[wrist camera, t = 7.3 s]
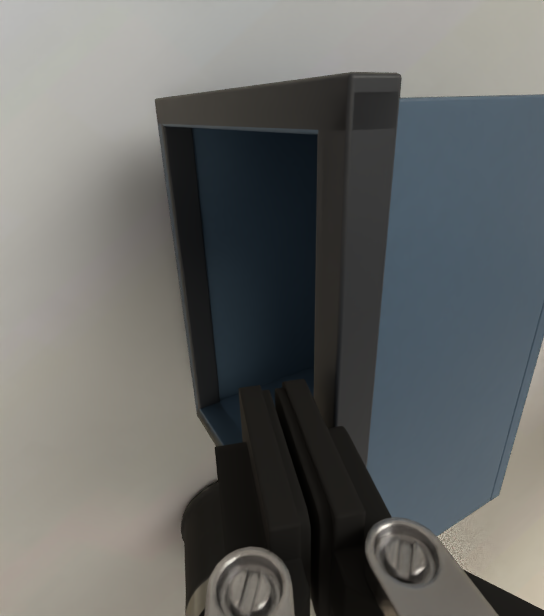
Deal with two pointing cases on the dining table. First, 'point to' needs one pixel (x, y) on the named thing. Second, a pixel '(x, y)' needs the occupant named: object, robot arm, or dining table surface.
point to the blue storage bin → (366, 269)
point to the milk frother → (203, 546)
